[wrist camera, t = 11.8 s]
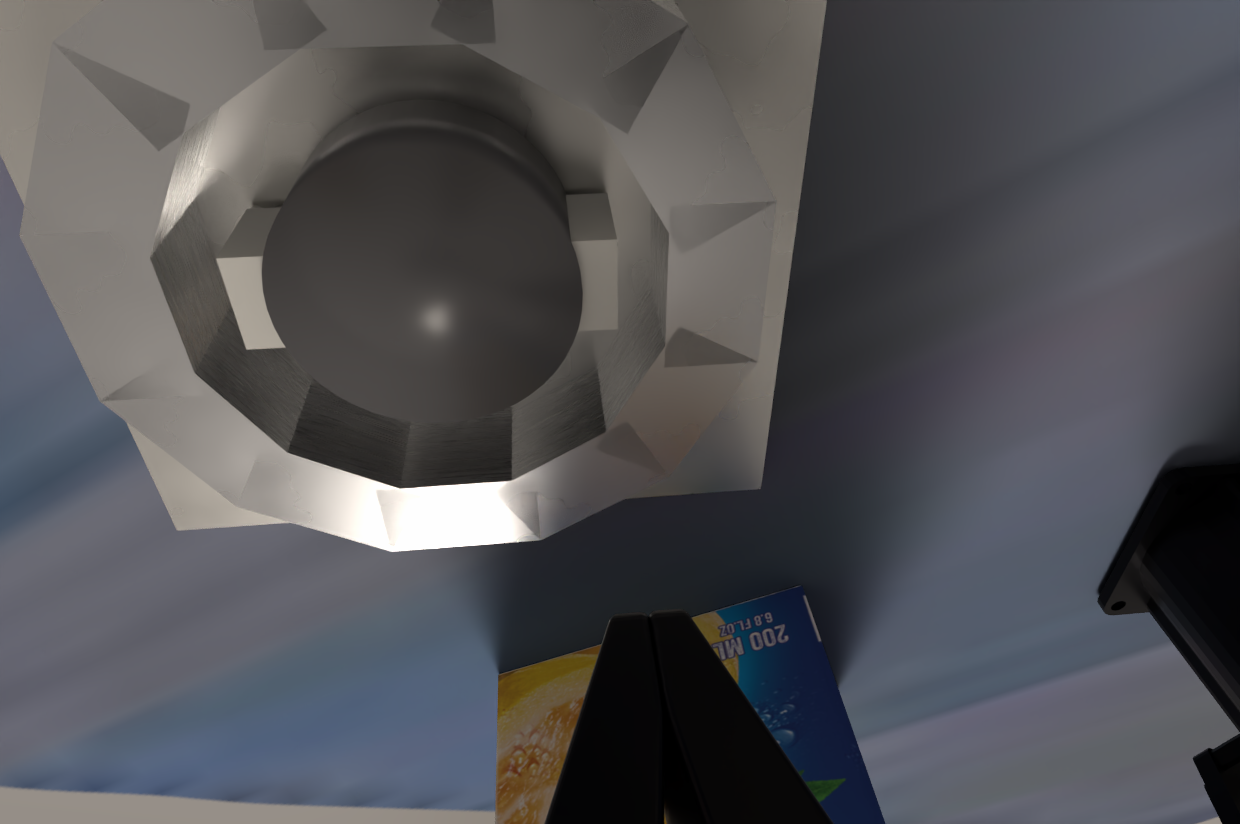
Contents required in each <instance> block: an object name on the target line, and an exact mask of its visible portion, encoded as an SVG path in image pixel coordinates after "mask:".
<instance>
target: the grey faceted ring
mask: <svg viewBox="0 0 1240 824" xmlns="http://www.w3.org/2000/svg"><path fill="white" fill-rule="evenodd" d="M826 4H827V0H0V155H1V157H2V159H3V161H4V163H5V165H6V167H7V170H8V172H9V174H10V176H11V178H12V180H13V182H14V184H15V187H16V189H17V191H18V193H19V195H20V197H21V199H22V201H23V204H24V212H23V218H22V224H21V230H20V235H19V236H20V238H21V240H22V242H23V244H24V246H25V248H26V250H27V252H28V254H29V256H30V258H31V260H32V263H33V265H34V267H35V269H36V271H37V273H38V275H39V277H40V279H41V281H42V283H43V285H44V287H45V289H46V291H47V293H48V296H49V298H50V300H51V302H52V304H53V306H54V308H55V310H56V312H57V314H58V316H59V318H60V320H61V322H62V324H63V326H64V328H65V331H66V333H67V335H68V337H69V339H70V341H71V343H72V345H73V347H74V349H75V351H76V353H77V355H78V357H79V359H80V361H81V364H82V366H83V368H84V370H85V372H86V374H87V376H88V378H89V380H90V382H91V384H92V386H93V388H94V390H95V392H96V394H97V397H98V399H99V401H100V402H102V403H103V404H104V405H105V406H107V407H108V408H109V409H111V410H112V411H113V412H115V413H116V414H117V415H118V416H120V417H121V418H122V419H124V420H125V421H126V423H127V425H128V427H129V429H130V431H131V433H132V436H133V438H134V440H135V442H136V444H137V446H138V448H139V450H140V453H141V455H142V457H143V459H144V461H145V463H146V465H147V468H148V470H149V472H150V474H151V476H152V478H153V480H154V482H155V485H156V487H157V489H158V491H159V493H160V495H161V497H162V499H163V502H164V504H165V506H166V508H167V510H168V512H169V514H170V516H171V519H172V521H173V523H174V525H175V527H176V529H177V531H179V530H193V529H207V528H221V527H235V526H249V525H263V524H277V523H294V524H298V525H301V526H305V527H308V528H312V529H315V530H319V531H322V532H326V533H329V534H333V535H336V536H339V537H343V538H346V539H350V540H353V541H357V542H360V543H364V544H367V545H371V546H374V547H378V548H381V549H385V550H388V551H404V550H417V549H431V548H444V547H458V546H471V545H485V544H498V543H511V542H525V541H538V540H542V539H544V538H546V537H548V536H551V535H553V534H555V533H557V532H559V531H561V530H563V529H565V528H567V527H569V526H571V525H573V524H575V523H577V522H579V521H581V520H583V519H585V518H587V517H589V516H591V515H593V514H595V513H597V512H599V511H601V510H603V509H605V508H607V507H609V506H611V505H613V504H615V503H617V502H619V501H621V500H623V499H629V498H643V497H657V496H671V495H685V494H699V493H713V492H727V491H741V490H755V489H761V484H762V477H763V470H764V462H765V455H766V447H767V440H768V433H769V425H770V418H771V410H772V403H773V396H774V388H775V381H776V373H777V366H778V359H779V351H780V344H781V336H782V329H783V322H784V314H785V307H786V299H787V292H788V285H789V277H790V270H791V262H792V255H793V248H794V240H795V233H796V226H797V218H798V211H799V203H800V196H801V189H802V181H803V174H804V166H805V159H806V152H807V144H808V137H809V129H810V122H811V115H812V107H813V100H814V92H815V85H816V78H817V70H818V63H819V55H820V48H821V41H822V33H823V26H824V18H825V11H826ZM408 100H437V101H443V102H450V103H456V104H460V105H463V106H466V107H470V108H473V109H477V110H479V111H481V112H483V113H486V114H488V115H490V116H493V117H495V118H497V119H498V120H500V121H502V122H503V123H505V124H507V125H508V126H510V127H512V128H513V129H515V130H516V131H517V132H518V133H520V134H521V135H522V136H524V137H525V138H526V139H527V140H529V141H530V142H531V143H532V144H533V145H534V146H535V147H536V148H537V149H538V150H539V151H540V152H541V153H542V155H543V156H544V157H545V159H546V160H547V161H548V162H549V164H550V165H551V166H552V168H553V169H554V171H555V172H556V174H557V176H558V178H559V179H560V181H561V183H562V185H563V187H564V189H565V192H566V194H567V195H576V194H599V193H607V194H608V199H609V203H610V208H611V213H612V217H613V222H614V227H615V231H616V236H617V284H618V329H610V330H592V331H577V334H576V337H575V340H574V343H573V345H572V347H571V348H570V350H569V352H568V354H567V356H566V358H565V359H564V361H563V362H562V364H561V365H560V366H559V368H558V369H557V371H556V372H555V373H554V374H553V375H552V376H551V377H550V378H549V379H548V380H547V381H546V382H545V383H544V384H543V385H542V386H541V387H540V388H538V389H537V390H536V391H535V392H533V393H532V394H531V395H529V396H528V397H526V398H525V399H523V400H521V401H520V402H518V403H517V404H515V405H513V406H510V407H508V408H506V409H504V410H502V411H500V412H497V413H494V414H491V415H488V416H485V417H481V418H477V419H472V420H468V421H461V422H452V423H421V422H410V421H405V420H399V419H394V418H390V417H386V416H383V415H379V414H376V413H373V412H370V411H368V410H365V409H363V408H360V407H358V406H356V405H354V404H352V403H350V402H348V401H346V400H344V399H342V398H340V397H339V396H337V395H335V394H334V393H333V392H331V391H330V390H328V389H327V388H325V387H324V386H322V385H321V384H320V383H319V382H317V381H316V380H315V379H314V378H313V377H312V376H310V375H309V374H308V373H307V372H306V371H305V370H304V369H303V368H302V367H301V366H300V365H299V364H298V362H297V361H296V360H295V359H294V358H293V357H292V355H291V354H290V353H289V351H288V350H287V348H268V349H250V350H246V347H245V344H244V341H243V338H242V335H241V332H240V329H239V326H238V323H237V320H236V317H235V314H234V311H233V308H232V305H231V302H230V299H229V296H228V293H227V290H226V287H225V284H224V281H223V278H222V275H221V272H220V269H219V266H218V263H217V260H216V258H217V256H218V254H219V253H220V251H221V250H222V248H223V246H224V245H225V243H226V242H227V240H228V238H229V237H230V235H231V233H232V232H233V230H234V229H235V227H236V225H237V224H238V222H239V221H240V219H241V217H242V216H243V214H244V212H245V211H246V209H253V208H276V207H282V205H283V203H284V201H285V200H286V198H287V196H288V194H289V192H290V190H291V189H292V187H293V185H294V183H295V181H296V179H297V177H298V176H299V174H300V172H301V170H302V168H303V166H304V165H305V163H306V161H307V160H308V158H309V157H310V155H311V154H312V152H313V151H314V149H315V148H316V147H317V146H318V145H319V143H320V142H321V141H322V140H323V139H324V138H325V137H326V136H327V135H328V134H329V133H330V132H332V131H333V130H334V129H335V128H336V127H338V126H339V125H340V124H341V123H343V122H345V121H347V120H348V119H350V118H352V117H353V116H355V115H357V114H359V113H361V112H364V111H366V110H369V109H371V108H374V107H376V106H380V105H385V104H389V103H393V102H398V101H408Z"/></svg>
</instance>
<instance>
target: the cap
mask: <svg viewBox="0 0 1240 824" xmlns="http://www.w3.org/2000/svg"><path fill="white" fill-rule="evenodd" d="M216 260H217V263H218V266H219V269H220V272H221V275H222V278H223V281H224V284H225V287H226V290H227V293H228V296H229V299H230V302H231V305H232V308H233V311H234V314H235V317H236V320H237V323H238V326H239V329H240V332H241V335H242V338H243V341H244V344H245V347H246V350H250V349H268V348H287V350H288V351H289V353H290V354H291V355H292V357H293V358H294V359H295V360H296V361H297V362H298V364H299V365H300V366H301V367H302V368H303V369H304V370H305V371H306V372H307V373H308V374H309V375H310V376H312V377H313V378H314V379H315V380H316V381H317V382H319V383H320V384H321V385H322V386H324V387H325V388H327V389H328V390H330V391H331V392H333V393H334V394H335V395H337V396H339V397H340V398H342V399H344V400H346V401H348V402H350V403H352V404H354V405H356V406H358V407H360V408H363V409H365V410H368V411H370V412H373V413H376V414H379V415H383V416H386V417H390V418H394V419H399V420H405V421H410V422H421V423H452V422H461V421H468V420H472V419H477V418H481V417H485V416H488V415H491V414H494V413H497V412H500V411H502V410H504V409H506V408H508V407H510V406H513V405H515V404H517V403H518V402H520V401H521V400H523V399H525V398H526V397H528V396H529V395H531V394H532V393H533V392H535V391H536V390H537V389H538V388H540V387H541V386H542V385H543V384H544V383H545V382H546V381H547V380H548V379H549V378H550V377H551V376H552V375H553V374H554V373H555V372H556V371H557V369H558V368H559V366H560V365H561V364H562V362H563V361H564V359H565V358H566V356H567V354H568V352H569V350H570V348H571V347H572V345H573V343H574V340H575V337H576V334H577V331H592V330H610V329H618V284H617V236H616V231H615V227H614V222H613V217H612V213H611V208H610V203H609V199H608V194H607V193H599V194H576V195H567V194H566V192H565V189H564V187H563V185H562V183H561V181H560V179H559V178H558V176H557V174H556V172H555V171H554V169H553V168H552V166H551V165H550V164H549V162H548V161H547V160H546V159H545V157H544V156H543V155H542V153H541V152H540V151H539V150H538V149H537V148H536V147H535V146H534V145H533V144H532V143H531V142H530V141H529V140H527V139H526V138H525V137H524V136H522V135H521V134H520V133H518V132H517V131H516V130H515V129H513V128H512V127H510V126H508V125H507V124H505V123H503V122H502V121H500V120H498V119H497V118H495V117H493V116H490V115H488V114H486V113H483V112H481V111H479V110H477V109H473V108H470V107H466V106H463V105H460V104H456V103H450V102H443V101H437V100H408V101H398V102H393V103H389V104H385V105H380V106H376V107H374V108H371V109H369V110H366V111H364V112H361V113H359V114H357V115H355V116H353V117H352V118H350V119H348V120H347V121H345V122H343V123H341V124H340V125H339V126H338V127H336V128H335V129H334V130H333V131H332V132H330V133H329V134H328V135H327V136H326V137H325V138H324V139H323V140H322V141H321V142H320V143H319V145H318V146H317V147H316V148H315V149H314V151H313V152H312V154H311V155H310V157H309V158H308V160H307V161H306V163H305V165H304V166H303V168H302V170H301V172H300V174H299V176H298V177H297V179H296V181H295V183H294V185H293V187H292V189H291V190H290V192H289V194H288V196H287V198H286V200H285V201H284V203H283V205H282V207H276V208H253V209H246V211H245V212H244V214H243V216H242V217H241V219H240V221H239V222H238V224H237V225H236V227H235V229H234V230H233V232H232V233H231V235H230V237H229V238H228V240H227V242H226V243H225V245H224V246H223V248H222V250H221V251H220V253H219V254H218V256H217V258H216Z"/></svg>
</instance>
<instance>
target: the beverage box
mask: <svg viewBox="0 0 1240 824" xmlns="http://www.w3.org/2000/svg"><path fill="white" fill-rule="evenodd" d="M691 618H692V619H693V621H694V622H695V624H696V625H697V626H698V628H699V629H700V631H701V632H702V634H703V635H704V637H705V638H706V639H707V641H708V642H709V644H710V645H711V647H712V648H713V650H714V651H715V652H716V654H717V655H718V657H719V658H720V660H721V661H722V663H723V664H724V665H725V667H726V668H727V670H728V671H729V673H730V674H731V676H732V677H733V678H734V680H735V681H736V683H737V684H738V686H739V687H740V689H741V690H742V691H743V693H744V694H745V696H746V697H747V699H748V700H749V702H750V703H751V705H752V706H753V707H754V709H755V710H756V712H757V713H758V715H759V716H760V718H761V719H762V720H763V722H764V723H765V725H766V726H767V728H768V729H769V731H770V732H771V733H772V735H773V736H774V738H775V739H776V741H777V742H778V744H779V745H780V746H781V748H782V749H783V751H784V752H785V754H786V755H787V757H788V758H789V759H790V761H791V762H792V764H793V765H794V767H795V768H796V770H797V771H798V772H799V774H800V775H801V777H802V778H803V780H804V781H805V783H806V784H807V785H808V787H809V788H810V790H811V791H812V793H813V794H814V796H815V797H816V798H817V800H818V801H819V803H820V804H821V806H822V807H823V809H824V810H825V811H826V813H827V814H828V816H829V817H830V819H831V820H832V822H833V823H834V824H885V821H884V818H883V815H882V813H881V810H880V807H879V804H878V801H877V798H876V795H875V793H874V790H873V787H872V784H871V781H870V778H869V775H868V773H867V770H866V767H865V764H864V761H863V758H862V755H861V753H860V750H859V747H858V744H857V741H856V738H855V735H854V733H853V730H852V727H851V724H850V721H849V718H848V715H847V712H846V710H845V707H844V704H843V701H842V698H841V695H840V692H839V690H838V687H837V684H836V681H835V678H834V675H833V672H832V670H831V667H830V664H829V661H828V658H827V655H826V652H825V650H824V647H823V644H822V641H821V638H820V635H819V632H818V630H817V627H816V624H815V621H814V618H813V615H812V612H811V610H810V607H809V604H808V601H807V598H806V595H805V592H804V590H803V587H802V585H799V586H796V587H793V588H789V589H786V590H782V591H779V592H776V593H772V594H769V595H766V596H762V597H759V598H755V599H752V600H749V601H745V602H742V603H738V604H735V605H732V606H728V607H725V608H722V609H718V610H715V611H711V612H708V613H705V614H701V615H698V616H694V617H691ZM600 647H601V644H600V645H596V646H593V647H590V648H586V649H583V650H579V651H576V652H573V653H569V654H566V655H563V656H559V657H556V658H552V659H549V660H546V661H542V662H539V663H535V664H532V665H529V666H525V667H522V668H519V669H515V670H512V671H508V672H505V673H502V674H499V675H498V719H497V765H496V811H495V824H544V823H545V820H546V817H547V814H548V811H549V808H550V804H551V801H552V798H553V795H554V792H555V789H556V786H557V782H558V779H559V776H560V773H561V770H562V767H563V763H564V760H565V757H566V754H567V751H568V748H569V745H570V741H571V738H572V735H573V732H574V729H575V726H576V723H577V719H578V716H579V713H580V710H581V707H582V704H583V701H584V697H585V694H586V691H587V688H588V685H589V682H590V679H591V675H592V672H593V669H594V666H595V663H596V660H597V657H598V653H599V650H600ZM664 824H667V823H666V818H665V813H664Z"/></svg>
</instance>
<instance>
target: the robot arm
mask: <svg viewBox="0 0 1240 824" xmlns="http://www.w3.org/2000/svg"><path fill="white" fill-rule="evenodd" d="M1097 602H1098V604H1099V605H1100V607H1101V608H1102V610H1103V611H1104V612H1105V613H1106V614H1108V615H1121V614H1133V613H1145V612H1150V614H1151V615H1152V616H1153V618H1154V619H1155V620H1156V622H1157V623H1158V624H1159V626H1160V627H1161V628H1162V630H1163V631H1164V632H1165V633H1166V635H1167V636H1168V637H1169V639H1170V640H1171V641H1172V643H1173V644H1174V645H1175V647H1176V648H1177V649H1178V651H1179V652H1180V653H1181V655H1182V656H1183V657H1184V659H1185V660H1186V661H1187V663H1188V664H1189V665H1190V667H1191V668H1192V669H1193V671H1194V672H1195V673H1196V675H1197V676H1198V677H1199V679H1200V680H1201V681H1202V683H1203V684H1204V685H1205V687H1206V688H1207V689H1208V691H1209V692H1210V693H1211V695H1212V696H1213V697H1214V699H1215V700H1216V701H1217V703H1218V704H1219V705H1220V707H1221V708H1222V709H1223V711H1224V712H1225V713H1226V715H1227V716H1228V717H1229V719H1230V720H1231V721H1232V722H1233V724H1234V725H1235V726H1236V728H1237V729H1238V730H1239V732H1240V464H1229V465H1215V466H1201V467H1187V468H1179V469H1175V470H1173V471H1171V472H1169V473H1168V474H1167V475H1165V476H1164V477H1163V478H1162V480H1161V481H1160V483H1159V485H1158V487H1157V488H1156V490H1155V492H1154V494H1153V496H1152V498H1151V500H1150V502H1149V504H1148V505H1147V507H1146V509H1145V511H1144V513H1143V515H1142V517H1141V519H1140V520H1139V522H1138V524H1137V526H1136V528H1135V530H1134V532H1133V534H1132V535H1131V537H1130V539H1129V541H1128V543H1127V545H1126V547H1125V549H1124V551H1123V552H1122V554H1121V556H1120V558H1119V560H1118V562H1117V564H1116V566H1115V567H1114V569H1113V571H1112V573H1111V575H1110V577H1109V579H1108V581H1107V582H1106V584H1105V586H1104V588H1103V590H1102V592H1101V594H1100V596H1099V598H1098V601H1097ZM1193 760H1194V763H1195V765H1196V767H1197V769H1198V771H1199V773H1200V775H1201V777H1202V779H1203V781H1204V783H1205V785H1204V787H1205V790H1206V792H1207V794H1208V796H1209V798H1210V800H1211V802H1212V804H1213V806H1214V808H1215V810H1216V812H1217V814H1218V816H1219V818H1220V820H1221V822H1222V824H1240V734H1238V735H1237V736H1235V737H1233V738H1232V739H1230V740H1228V741H1226V742H1225V743H1223V744H1221V745H1220V746H1218V747H1216V748H1215V749H1211V748H1208V749H1206V750H1204V751H1203V752H1201V753H1199V754H1198V755H1196V756H1194V757H1193ZM664 813H665V818H666V823H667V824H834V823H833V822H832V820H831V819H830V817H829V816H828V814H827V813H826V811H825V810H824V809H823V807H822V806H821V804H820V803H819V801H818V800H817V798H816V797H815V796H814V794H813V793H812V791H811V790H810V788H809V787H808V785H807V784H806V783H805V781H804V780H803V778H802V777H801V775H800V774H799V772H798V771H797V770H796V768H795V767H794V765H793V764H792V762H791V761H790V759H789V758H788V757H787V755H786V754H785V752H784V751H783V749H782V748H781V746H780V745H779V744H778V742H777V741H776V739H775V738H774V736H773V735H772V733H771V732H770V731H769V729H768V728H767V726H766V725H765V723H764V722H763V720H762V719H761V718H760V716H759V715H758V713H757V712H756V710H755V709H754V707H753V706H752V705H751V703H750V702H749V700H748V699H747V697H746V696H745V694H744V693H743V691H742V690H741V689H740V687H739V686H738V684H737V683H736V681H735V680H734V678H733V677H732V676H731V674H730V673H729V671H728V670H727V668H726V667H725V665H724V664H723V663H722V661H721V660H720V658H719V657H718V655H717V654H716V652H715V651H714V650H713V648H712V647H711V645H710V644H709V642H708V641H707V639H706V638H705V637H704V635H703V634H702V632H701V631H700V629H699V628H698V626H697V625H696V624H695V622H694V621H693V619H692V618H691V616H690V615H689V614H688V613H687V612H686V611H685V610H682V609H672V610H660V611H653V612H651V613H650V615H649V617H648V616H647V615H646V614H645V613H643V612H635V613H623V614H615V615H613V616H612V617H611V618H610V620H609V622H608V625H607V628H606V631H605V635H604V638H603V641H602V644H601V647H600V650H599V653H598V657H597V660H596V663H595V666H594V669H593V672H592V675H591V679H590V682H589V685H588V688H587V691H586V694H585V697H584V701H583V704H582V707H581V710H580V713H579V716H578V719H577V723H576V726H575V729H574V732H573V735H572V738H571V741H570V745H569V748H568V751H567V754H566V757H565V760H564V763H563V767H562V770H561V773H560V776H559V779H558V782H557V786H556V789H555V792H554V795H553V798H552V801H551V804H550V808H549V811H548V814H547V817H546V820H545V823H544V824H664Z"/></svg>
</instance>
